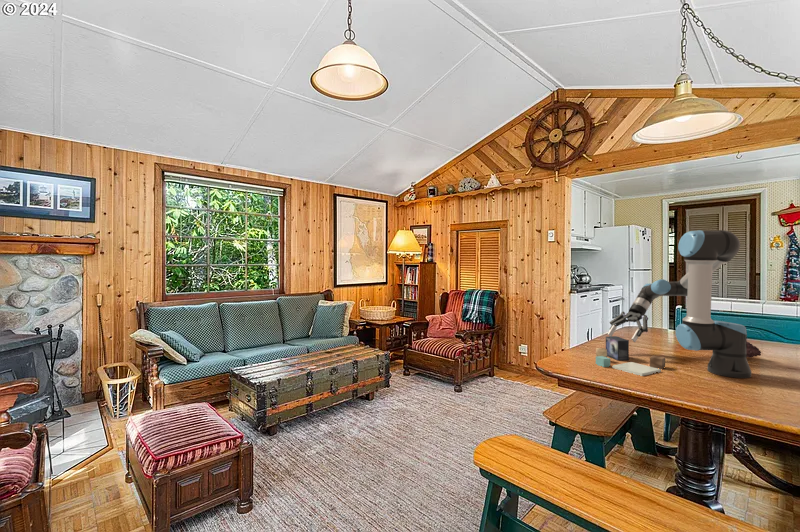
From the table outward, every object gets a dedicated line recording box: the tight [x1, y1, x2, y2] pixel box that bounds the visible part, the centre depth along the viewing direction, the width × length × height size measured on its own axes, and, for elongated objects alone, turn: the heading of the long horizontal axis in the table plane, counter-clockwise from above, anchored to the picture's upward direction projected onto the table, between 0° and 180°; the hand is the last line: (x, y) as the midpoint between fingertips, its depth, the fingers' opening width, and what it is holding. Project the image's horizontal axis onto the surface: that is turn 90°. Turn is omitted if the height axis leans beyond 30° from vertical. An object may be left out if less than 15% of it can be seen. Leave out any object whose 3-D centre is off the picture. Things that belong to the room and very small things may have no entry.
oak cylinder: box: [595, 347, 608, 358], centre depth 196 cm, size 5×5×6 cm
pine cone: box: [746, 341, 762, 358], centre depth 197 cm, size 18×10×10 cm, turn 8°
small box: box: [605, 335, 630, 362], centre depth 201 cm, size 11×6×10 cm, turn 5°
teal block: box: [595, 356, 611, 368], centre depth 187 cm, size 5×4×4 cm
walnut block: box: [649, 355, 666, 370], centre depth 183 cm, size 5×5×5 cm
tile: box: [611, 361, 662, 377], centre depth 179 cm, size 14×14×1 cm
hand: (620, 337), depth 204 cm, fingers open, 13 cm apart
